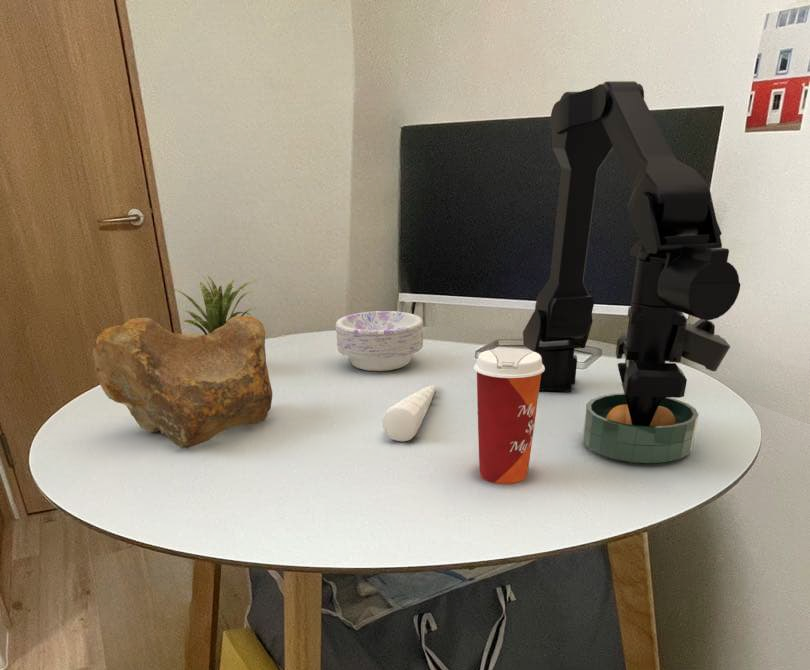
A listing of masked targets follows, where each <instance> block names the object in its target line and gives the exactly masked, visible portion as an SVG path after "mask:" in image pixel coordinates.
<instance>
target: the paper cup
mask: <svg viewBox="0 0 810 670" xmlns="http://www.w3.org/2000/svg"><path fill="white" fill-rule="evenodd" d="M473 369H474V371H475V372H476V395H477V396H476V397H477V398H476V399H477V400H476V401H477V432H478V433H477V438H478V439H477V441H478V465H479V466H478V467H479V468H478V469H479V475H480V477H481V478H482V479H483V480H485V481H487V482H489V483H493V484H498V485H499V484H501V485H511V484H518V483H521V482H522V481H524V480H526V479H527V476H528V473H529V466H530V459H531V452H532V445H533V437H534V430H535V424H536V416H537V409H538V403H539V401H538V400H539V393H540V390H539V387H540V380H541V373H542V372H544V370H545V367H544V365H543V364H542V358H541V356H540V354H538V353H536V352H533V351H531V350H530V349H523V348H509V347H507V348H493V349H487V350H485V351H482V352H480V353H479V354H478V356H477V361H476V363H475V364H474V365H473Z"/></svg>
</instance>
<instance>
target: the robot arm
mask: <svg viewBox="0 0 810 670" xmlns="http://www.w3.org/2000/svg"><path fill="white" fill-rule="evenodd" d="M550 129H551V132H552V133H551V147H552V151H553V152H554V155H555V157H556V159H557V161H558V163H559V166H560V177H559V178H560V180H559V188H558V199H557V206H556V207H557V208H556V217H555V226H554V227H555V228H554V235H553V236H554V237H553V245H552V254H551V263H550V265H551V266H550V274H549V278H548V280H547V281H546V283H545V284H544V286H543V287H542V289H541V290H540V292H539V293H538V295H537V296H536V301H535V307H534V312H533V313H532V314H531V316H530V318H529V320H528V322H527V323H526V325H525V327H524V329H523V331H522V340H523V343H522V344H523V346H524V347H525V348H527V350H529V351H533V352H536V353H538V354H540V356H541V358H542V364H543V365H544V367H545V370H544V372H542V373H541V380H540V387H539V391H547V392H572V389H573V386H574V385H576V379H577V378H576V376H577V367H578V355H577V354H575V349H585V348H586V346H587V342H588V339H589V335H590V332H591V329H592V325H593V321H594V319H593V310H594V306H595V299H594V297H593V296H592V295H590V294H589V292H588V289H587V287H586V285H585V282H584V278H585V272H586V263H587V258H588V257H587V256H588V248H589V241H590V233H591V226H592V225H591V224H592V219H593V218H592V217H593V212H594V211H593V209H594V202H595V195H596V187H597V181H598V180H597V179H598V173H599V169H600V168H601V166H602V165H603V164H604V162H605V160H606V159H607V158H608V156H609V154H610V153H611V152H612V150H613V149H614V151H615V153H616V155H617V157H618V160H619V162H620V164H621V167H622V168H623V170H624V173H625V175H626V177H627V180H628V182H629V184H630V188H631V196H630V198H629V202H628V205H627V209H628V212H629V216H630V218H631V223H632V226H633V228H634V231H635V233H636V234H637V236H638V238H639V239H640V241H638V242H637V243H636V244H634V245H633V246H632V247H631V248H630V250H629V254H630V256H632V257H636V266H635V271H634V273H635V274H634V281H633V287H632V295H631V303H630V306H628V310H627V318H628V325H627V332H624V333H623V334H622V335H620V337H619V338H617V340H616V346H615V347H616V348H615V357H616V359H617V360H622V359H623V355H624V357H625V358H624V362H618V363H617V369H618V373H619V377H620V381H621V386H622V389H623V393H624V394H625V398H626V402H627V406H628V410H629V414H630V418H631V422H632V425H637V426H650V424H651V421H652V419H653V417H654V415H655V412H656V410H657V408H658V406H659V404H660V402H661V401H662V400H663V399H665V398H667V397H669V398H673V399H681V398H684V397H685V394H686V387H687V382H688V378H687V377H686V376H685V374H684V372H683V370H682V369H681V368H680V367H679V366H678V365H677V363H681V361H682V358H684V359H685V360H688V361H691V362H693V363H695V364H698V365H701V366H703V367H705V369H706V370H708V371H711V372H716V371H717V370H718V368H719V367H720V365H721V364H722V362H723V360H724V358H725V357H726V355H727V353H728V352H729V350H730V349H731V344H729V342H727V340H726V339H725V338H723V337H721V335H719V334H715V331H716V330H715V329H716V328H715V327H716V326H715V324H714V322H712V320H715V319H718V318H720V317H722V316H723V315H725V314H726V313H727V312H728V311H730V309H731V308H732V307H733V306H734V304H735V303H736V300H737V299H738V296H739V293H740V291H741V282H740V277H739V273H738V270H737V269H736V268H735V266H734V264H731V263H730V262H728V259H729V254H730V250H729V248H726V247H723V243H722V239H721V236H722V234H723V233H722V231H721V228H720V225H719V223H718V220H717V216H716V211H715V207H714V202H713V198H712V192H711V189H710V187H709V185H708V183H707V182H706V180H704V179H703V178H702V176H701V175H700V174H699V173H698V171H697V170H696V169H695V168H693V167H691V166H689V165H686V164H685V163H683V162H681V161H680V160H678V159H677V158H676V156H674V154H673V153H672V151H671V149H670V147H669V145H668V143H667V142H666V140H665V138H664V136H663V134H662V131H661V130H660V128H659V125H658V123H657V122H656V120H655V118H654V115H652V113H651V111H650V108H649V107H648V104H647V102H646V101H645V90H644V87H643V85H642V84H641V83H637V81H634V80H631V81H630V80H625V81H623V80H622V81H621V80H619V81H616V80H615V81H611V80H610V81H604V82H603V83H599V84H597V85H596V86H594V87H592V88H588V89H585V90H580V91H565V92H564V93H563V94H562V96H560V99H559V100H558V101H556V102H555V103H554V104H553V106H552V109H551V113H550ZM686 315H688V316H692V317H694V318H696V319H698V320H696V322H694V323H693V324H692V323H687V322H688V319H687V317H686Z"/></svg>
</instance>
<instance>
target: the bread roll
mask: <svg viewBox="0 0 810 670" xmlns="http://www.w3.org/2000/svg"><path fill="white" fill-rule="evenodd" d="M606 419H608V420H611V421H615V422H619V423H623V424H630V425H632V422H631V418H630V414H629V410H628V406H627V405H626V404H625V405H618V406H616V407H614V408H613V409H612V410H611V411H610V412H609V413H608V415H607V417H606ZM675 424H676V422H675V417H674V415H673V413H672V412H671V411H670V410H669V409H667V408H666V407H663V406H658V408H657V410H656V412H655V415H654V417H653V419H652V421H651V424H650V426H670V425H675Z"/></svg>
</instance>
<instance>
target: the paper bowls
mask: <svg viewBox="0 0 810 670" xmlns="http://www.w3.org/2000/svg"><path fill="white" fill-rule="evenodd" d="M423 326H424V322H423V318H421V316H420V315H417V314H414V313H411V312H405V311H396V310H394V311H393V310H379V311H376V310H375V311H363V312H358V313H357V312H356V313H352V314H351V313H350V314H347V315H343V316H342V317H340V318H339V319H337V320H336V323H335V331H336V332H335V333H336V346H337V347H336V348H337V351H338V353H339V354H341V355H342V356H346V357H347V358H348V359H349V361H350V363H351V364H352V366H354V367H355V368H357V369H360V370H364V371H367V372H387V371H394V370H398V369H401V368H404V367H406V366H407V365H408V364H409V363H410V361H411V360H412V358H413V356H414V354H416V353H418V352H420V351H421V350H423V348H424V329H423V328H424V327H423Z"/></svg>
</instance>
